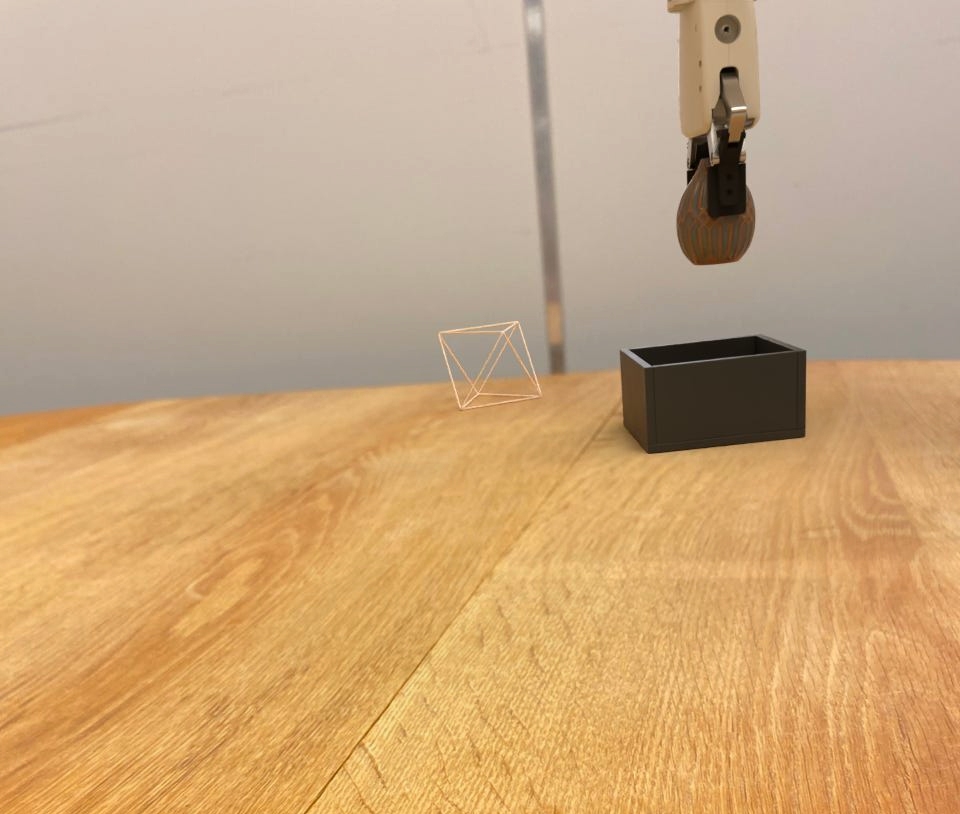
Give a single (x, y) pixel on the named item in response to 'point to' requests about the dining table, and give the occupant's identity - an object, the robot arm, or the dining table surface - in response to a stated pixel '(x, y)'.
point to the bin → (713, 392)
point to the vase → (711, 225)
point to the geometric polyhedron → (492, 366)
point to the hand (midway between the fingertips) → (715, 214)
